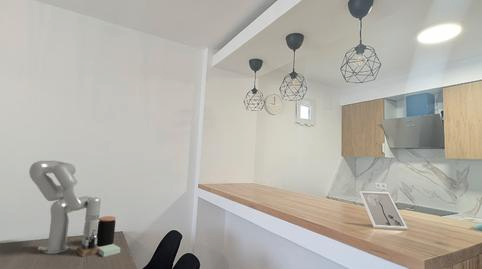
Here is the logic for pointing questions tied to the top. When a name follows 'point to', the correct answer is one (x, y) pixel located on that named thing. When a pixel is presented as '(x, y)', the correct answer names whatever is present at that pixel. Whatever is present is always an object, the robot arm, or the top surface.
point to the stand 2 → (109, 250)
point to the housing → (87, 243)
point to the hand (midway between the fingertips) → (89, 246)
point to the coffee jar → (106, 231)
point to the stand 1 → (87, 251)
